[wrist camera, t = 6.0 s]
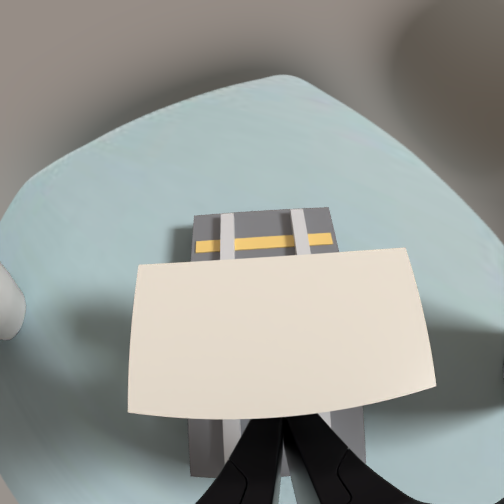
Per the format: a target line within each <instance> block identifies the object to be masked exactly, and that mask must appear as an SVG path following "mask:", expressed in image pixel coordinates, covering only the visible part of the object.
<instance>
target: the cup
mask: <svg viewBox="0 0 504 504" xmlns="http://www.w3.org/2000/svg"><path fill="white" fill-rule="evenodd" d="M25 311H26V302H25V297H24V295H23V293H22V291H21V290H20V288H19V287H18V285H17V284H16V282H15V281H14V279H13V278H12V276H11V275H10V273H9V272H8V271H7V270H6V268H5V267H4V266H3V265H2V264H1V263H0V340H10V339H12V338H13V337H14V336H16V334H17V333H18V332H19V330H20V328H21V326H22V324H23V321H24V317H25Z"/></svg>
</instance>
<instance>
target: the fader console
mask: <svg viewBox="0 0 504 504" xmlns="http://www.w3.org/2000/svg"><path fill="white" fill-rule="evenodd" d="M335 252H339V250H338V245H337V241H336V236H335V232H334V228H333V224H332V219H331V215H330V211H329V207H324V208H302V209H282V210H265V211H250V212H235V213H222V214H210V215H198V216H194V224H193V237H192V250H191V262H197V261H213V260H229V259H245V258H260V257H276V256H291V255H306V254H321V253H335ZM318 414H319V415H320V416H321V417H322V419H323V420H324V421H325V422H326V423H327V424H328V425H329V426H330V427H331V429H332V430H333V431H334V432H335V433H336V434H337V435H338V436H339V437H340V438H341V439H342V441H343V442H344V443H345V444H346V445H347V446H348V447H349V448H348V449H351V450H352V451H353V452H354V453H355V454H356V455H357V456H358V457H359V458H360V459H361V460H362V461H363V462H364V463H366V452H365V432H364V417H363V406H358V407H353V408H347V409H342V410H336V411H329V412H322V413H318ZM249 421H250V419H191V418H188V437H189V457H190V473H191V476H193V477H207V478H217V476H218V475H219V473H220V472H221V470H222V469H223V467H224V465H225V463H226V462H227V460H229V457H230V455H231V453H232V452H233V450H234V448H235V446H236V444H237V443H238V441H239V439H240V437H241V435H242V434H243V432H244V430H245V428H246V426H247V424H248V422H249ZM284 476H290V472H289V468H288V463H287V459H286V455H285V450H284V444H283V458H282V470H281V477H284Z"/></svg>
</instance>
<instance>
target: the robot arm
mask: <svg viewBox="0 0 504 504" xmlns="http://www.w3.org/2000/svg"><path fill="white" fill-rule="evenodd" d="M283 444H284V450H285V455H286V459H287V463H288V468H289V472H290V476H291V480H292V485H293V489H294V493H295V497H296V502H297V504H430V503H424V502H420V501H418V500H415V499H413V498H411V497H409V496H408V495H406V494H404V493H403V492H402V491H400V490H399V489H397V488H396V487H394V486H393V485H392V484H390V483H389V482H388V481H386V480H385V479H383V478H382V477H381V476H379V475H378V474H377V473H376V472H374V471H373V470H372V469H371V468H369V467H368V466H367V465H366V464H365V463H364V462H363V461H362V460H361V459H360V458H359V457H358V456H357V455H356V454H355V453H354V452H353V451H352V450H351V449H348V448H349V447H348V446H347V445H346V444H345V443H344V442H343V441H342V439H341V438H340V437H339V436H338V435H337V434H336V433H335V432H334V431H333V430H332V429H331V427H330V426H329V425H328V424H327V423H326V422H325V421H324V420H323V419H322V417H321V416H320V415H319V414H318V413H315V414H307V415H298V416H288V417H275V418H259V419H250V421H249V422H248V424H247V426H246V428H245V430H244V432H243V434H242V435H241V437H240V439H239V441H238V443H237V444H236V446H235V448H234V450H233V452H232V453H231V455H230V457H229V460H227V462H226V463H225V465H224V467H223V469H222V470H221V472H220V473H219V475H218V476H217V478H216V479H215V481H214V482H213V483H212V485H211V486H210V487H209V488H208V490H207V491H206V492H205V493H204V494H203V496H202V497H201V498H200V499H199V500H198V501H197V502H196V503H195V504H278V502H279V492H280V482H281V470H282V458H283ZM495 504H504V498H503V499H501V500H500V501H498V502H497V503H495Z"/></svg>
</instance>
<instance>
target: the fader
mask: <svg viewBox="0 0 504 504" xmlns="http://www.w3.org/2000/svg"><path fill="white" fill-rule="evenodd" d="M435 386H436V380H435V373H434V366H433V359H432V353H431V347H430V342H429V337H428V332H427V327H426V322H425V317H424V313H423V309H422V304H421V300H420V296H419V292H418V289H417V285H416V281H415V278H414V274H413V271H412V267H411V264H410V261H409V257H408V254H407V251H406V248H392V249H378V250H364V251H350V252H335V253H321V254H306V255H291V256H276V257H260V258H245V259H229V260H213V261H197V262H180V263H163V264H146V265H139V267H138V274H137V281H136V289H135V297H134V306H133V315H132V326H131V338H130V353H129V374H128V412H129V413H136V414H144V415H153V416H163V417H175V418H191V419H259V418H275V417H288V416H298V415H307V414H315V413H322V412H329V411H336V410H342V409H347V408H353V407H358V406H363V405H368V404H373V403H377V402H381V401H386V400H390V399H394V398H398V397H401V396H405V395H409V394H412V393H416V392H419V391H422V390H425V389H429V388H432V387H435Z"/></svg>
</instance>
